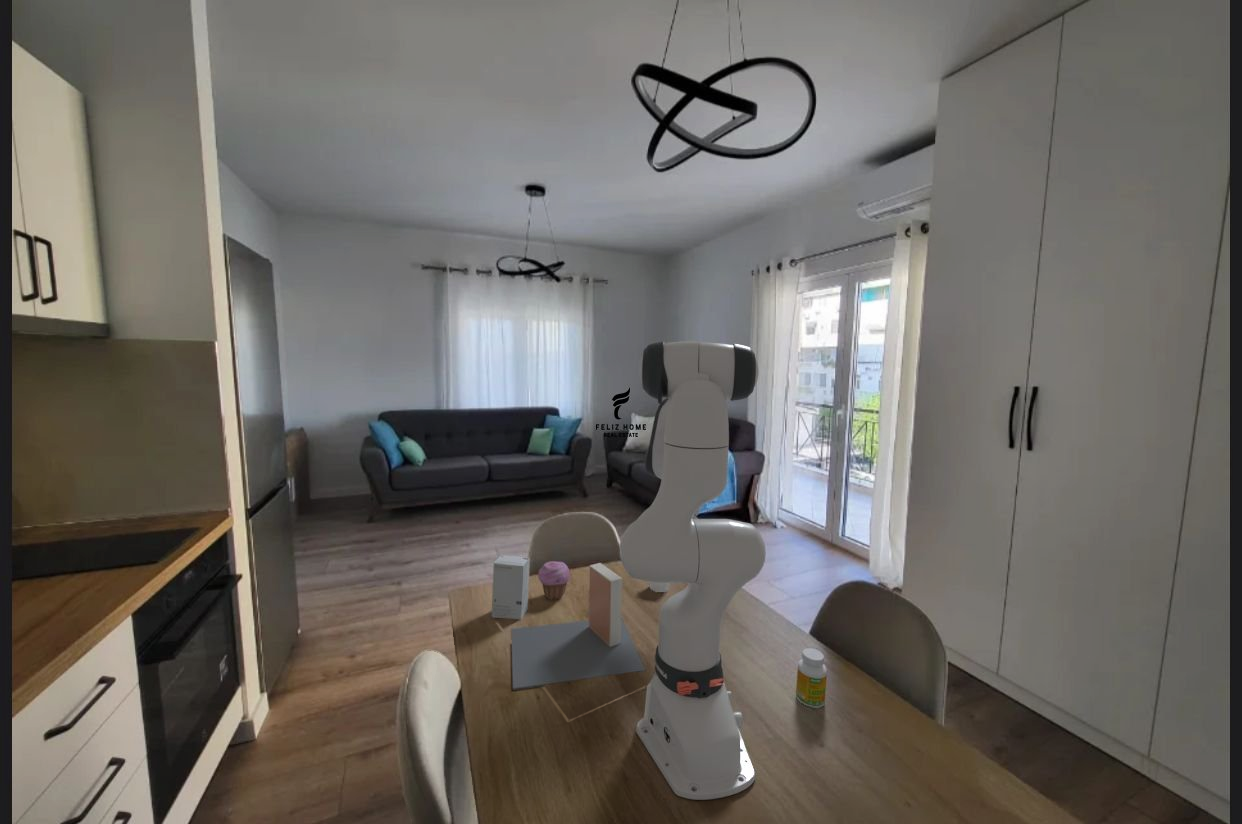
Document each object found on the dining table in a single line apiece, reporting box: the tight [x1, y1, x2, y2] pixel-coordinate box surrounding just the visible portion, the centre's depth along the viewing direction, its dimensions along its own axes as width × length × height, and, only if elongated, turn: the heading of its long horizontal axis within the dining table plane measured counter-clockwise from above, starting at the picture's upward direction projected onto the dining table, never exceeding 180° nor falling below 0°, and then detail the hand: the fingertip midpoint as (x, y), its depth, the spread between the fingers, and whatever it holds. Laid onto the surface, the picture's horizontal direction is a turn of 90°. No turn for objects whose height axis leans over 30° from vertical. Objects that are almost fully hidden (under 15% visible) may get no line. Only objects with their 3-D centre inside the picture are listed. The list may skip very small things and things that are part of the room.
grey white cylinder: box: [649, 582, 671, 593], centre depth 141 cm, size 7×7×7 cm
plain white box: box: [588, 562, 623, 647], centre depth 115 cm, size 3×10×16 cm, turn 33°
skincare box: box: [491, 554, 531, 621], centre depth 125 cm, size 8×6×15 cm
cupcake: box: [538, 561, 571, 601], centre depth 135 cm, size 9×9×10 cm
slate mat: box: [511, 616, 646, 691], centre depth 110 cm, size 22×28×1 cm
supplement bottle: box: [795, 647, 828, 709], centre depth 95 cm, size 5×5×10 cm
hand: (646, 556), depth 121 cm, fingers closed
